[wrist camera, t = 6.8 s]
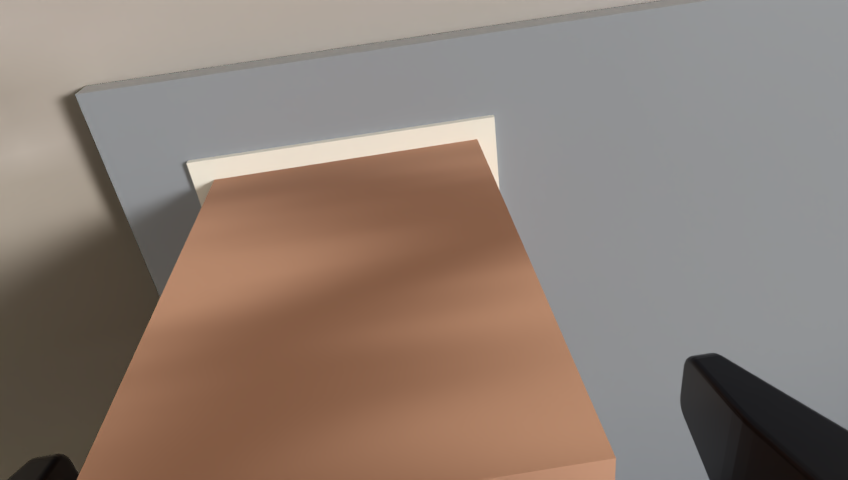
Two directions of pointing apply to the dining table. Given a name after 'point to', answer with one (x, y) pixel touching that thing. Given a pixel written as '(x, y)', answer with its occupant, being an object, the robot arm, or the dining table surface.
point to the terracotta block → (354, 338)
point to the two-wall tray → (572, 180)
